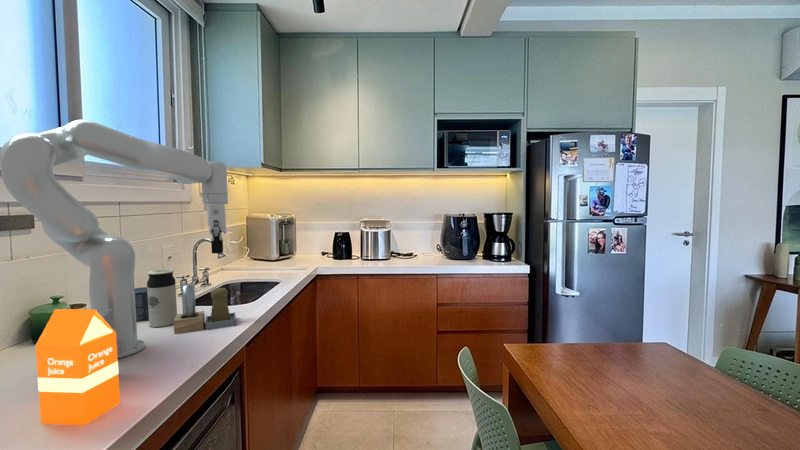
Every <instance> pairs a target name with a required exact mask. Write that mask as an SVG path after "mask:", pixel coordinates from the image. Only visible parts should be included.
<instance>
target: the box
mask: <svg viewBox="0 0 800 450" xmlns="http://www.w3.org/2000/svg"><path fill="white" fill-rule="evenodd" d="M134 292H135V307H136V323H137V322H138V323H140V322H148V321H149V310H148V292H147V286H146V287H136V288H135V287H134Z"/></svg>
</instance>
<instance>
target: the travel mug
mask: <svg viewBox="0 0 800 450" xmlns="http://www.w3.org/2000/svg"><path fill="white" fill-rule="evenodd" d="M174 272H175V270H174V269H172V268H170V269H169V268H167V269H156V270H150V271H148V272H147V276H148V280H147V282H146V285H147V286H146V287H147V292H148V310H149V319H148V324H149V327H152V328H163V327H169V326H172V325H174V319H175V317H176V315H177V314H178V310H177V309H178V304H177V288H176V285H177V284H176V278H175V277H174V276H173V275H174Z"/></svg>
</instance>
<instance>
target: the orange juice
mask: <svg viewBox="0 0 800 450" xmlns="http://www.w3.org/2000/svg"><path fill="white" fill-rule="evenodd" d="M45 325H46V326H45V328H43V331H42V333H41V335H40V336H39V338H38V340H37V342H36V343H35V346H34V347H35V354H36V356H35V358H36V368H37V371H36V372H37V388H38V389H37V390H38V397H39V411H40V423H41V424H45V425H72V426H73V425H74V426H86V425H88V424H89V423H91V422H92V421H93V420H95V419H97V418H99V417H101V416H102V415H103V414H105V413H107V412H109V411H110V410H111V409H113V408H114V407H116V406H118V405H119V404H121V395H120V393H121V392H120V378H119V373H120V372H119V371H120V369H119V358H117V343H116V332H115V331H114V330H113V329H112V328H111V327H110V326H109V324H108V323H107V322H106V321H105V320H104V319H103V318H102V317H101V315H100V314H99V313H98V312H97V311H96V310H91V309H71V308H70V309H69V308H68V309H67V308H65V309H64V308H62V309H60V308H59V309H55V308H54V311H53V313H52V314H51V316H50V318H49V320H48V321H47V323H46V324H45Z"/></svg>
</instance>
